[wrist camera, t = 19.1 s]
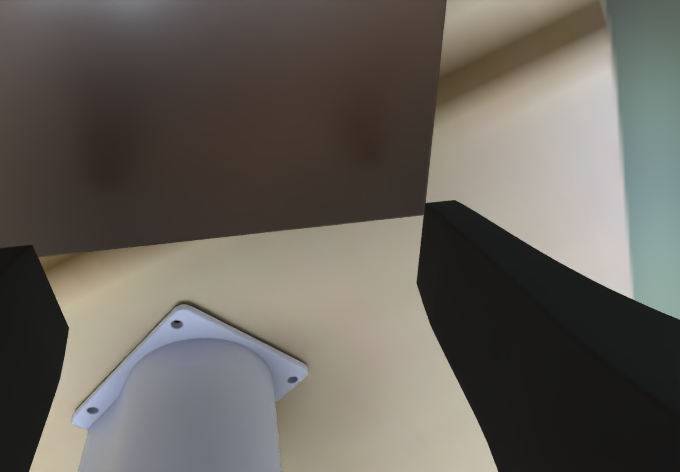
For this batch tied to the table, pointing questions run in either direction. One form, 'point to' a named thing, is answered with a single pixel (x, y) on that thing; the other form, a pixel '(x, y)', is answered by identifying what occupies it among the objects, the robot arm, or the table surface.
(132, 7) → the cabinet
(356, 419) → the table surface
